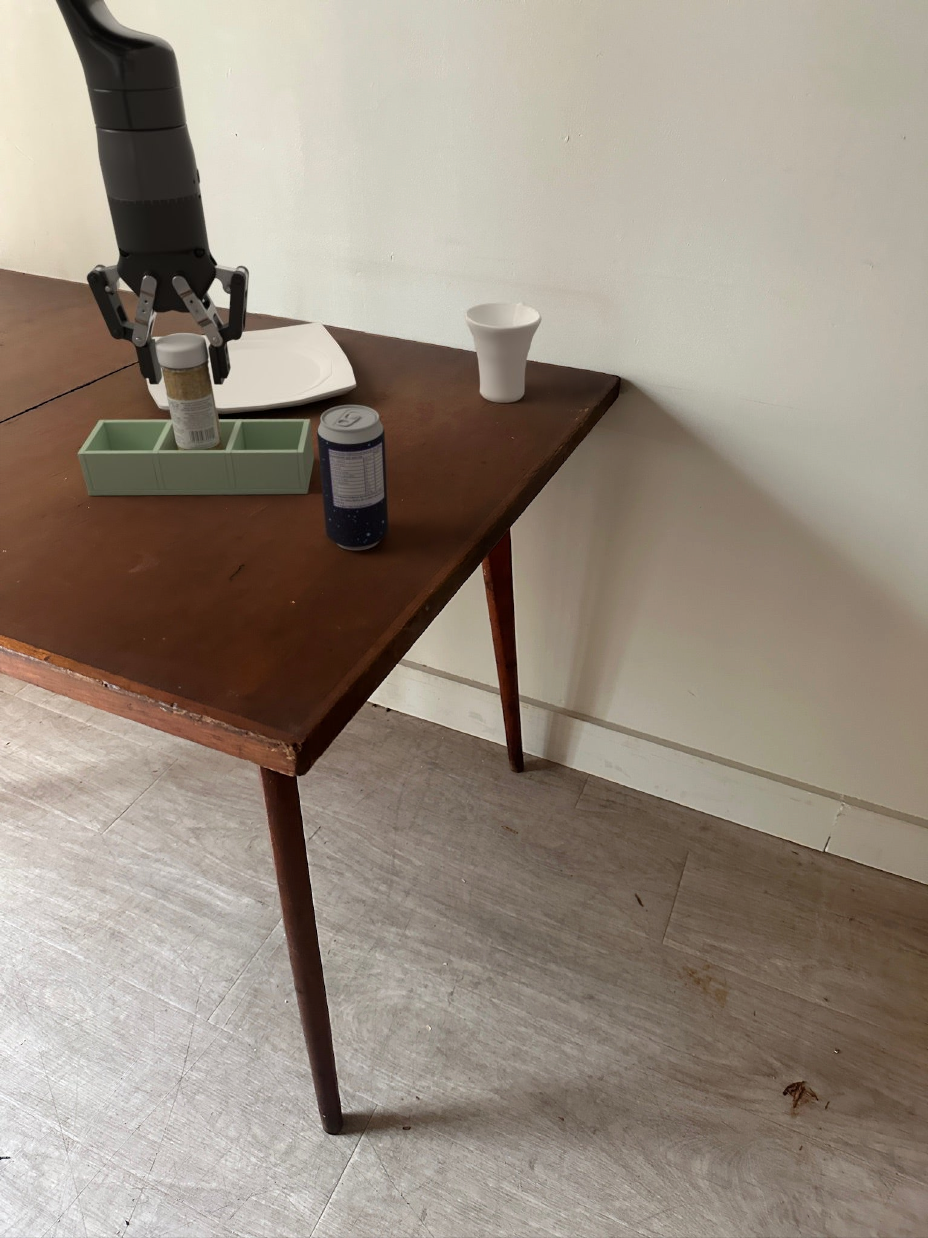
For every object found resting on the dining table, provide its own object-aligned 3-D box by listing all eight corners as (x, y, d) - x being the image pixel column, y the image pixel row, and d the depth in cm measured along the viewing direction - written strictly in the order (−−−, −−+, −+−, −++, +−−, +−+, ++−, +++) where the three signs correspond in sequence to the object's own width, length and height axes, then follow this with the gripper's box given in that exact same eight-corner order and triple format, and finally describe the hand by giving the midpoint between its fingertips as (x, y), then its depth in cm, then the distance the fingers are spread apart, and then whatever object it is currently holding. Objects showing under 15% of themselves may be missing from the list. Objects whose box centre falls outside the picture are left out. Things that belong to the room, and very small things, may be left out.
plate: (328, 337, 120) (326, 318, 119) (369, 408, 102) (368, 387, 100) (144, 355, 114) (140, 334, 112) (153, 434, 96) (148, 411, 94)
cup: (550, 390, 108) (557, 309, 101) (509, 415, 102) (513, 330, 95) (492, 372, 112) (495, 293, 105) (448, 395, 106) (449, 313, 99)
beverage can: (399, 530, 81) (395, 410, 73) (369, 561, 77) (362, 436, 69) (347, 516, 83) (338, 397, 75) (314, 545, 79) (302, 422, 71)
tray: (89, 495, 85) (77, 453, 82) (109, 460, 91) (99, 419, 88) (307, 494, 86) (303, 452, 83) (314, 459, 92) (310, 418, 89)
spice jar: (227, 458, 90) (205, 329, 82) (227, 479, 86) (205, 346, 78) (181, 461, 89) (155, 332, 81) (179, 483, 86) (152, 349, 77)
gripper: (49, 195, 68) (100, 397, 79) (233, 197, 69) (259, 397, 79) (78, 175, 74) (121, 366, 85) (246, 177, 75) (269, 366, 85)
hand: (188, 380), depth 82 cm, fingers open, 5 cm apart
